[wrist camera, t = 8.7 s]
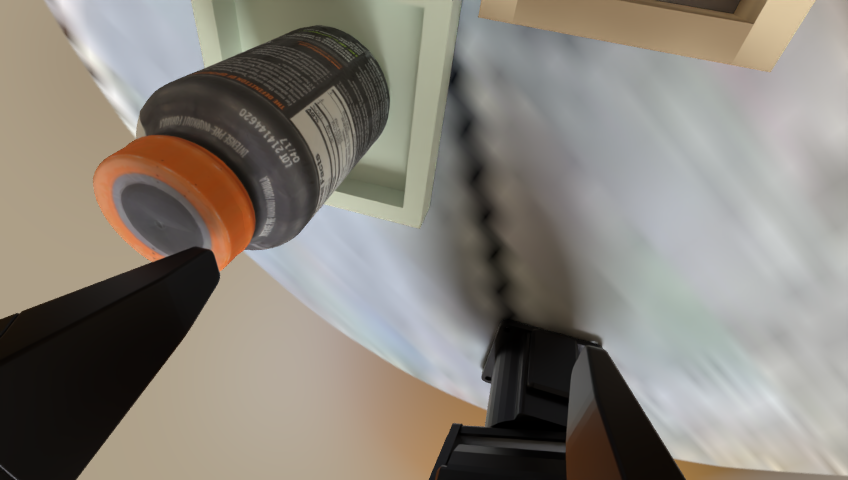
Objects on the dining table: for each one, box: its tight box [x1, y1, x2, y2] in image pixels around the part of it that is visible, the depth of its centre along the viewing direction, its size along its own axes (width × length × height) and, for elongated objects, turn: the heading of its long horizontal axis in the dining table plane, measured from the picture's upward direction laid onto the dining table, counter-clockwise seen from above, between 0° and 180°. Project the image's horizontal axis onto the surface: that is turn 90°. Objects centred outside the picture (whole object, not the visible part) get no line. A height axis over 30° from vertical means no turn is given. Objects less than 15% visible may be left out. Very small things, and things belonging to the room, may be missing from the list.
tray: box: [191, 0, 462, 229], centre depth 19 cm, size 11×11×2 cm
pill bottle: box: [93, 25, 390, 272], centre depth 15 cm, size 6×6×11 cm
